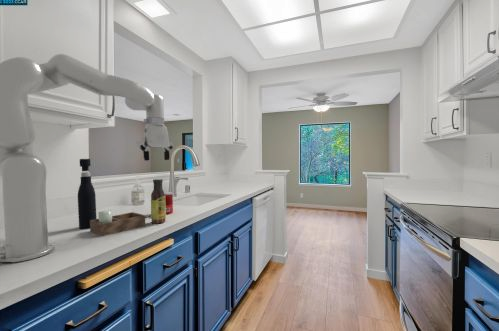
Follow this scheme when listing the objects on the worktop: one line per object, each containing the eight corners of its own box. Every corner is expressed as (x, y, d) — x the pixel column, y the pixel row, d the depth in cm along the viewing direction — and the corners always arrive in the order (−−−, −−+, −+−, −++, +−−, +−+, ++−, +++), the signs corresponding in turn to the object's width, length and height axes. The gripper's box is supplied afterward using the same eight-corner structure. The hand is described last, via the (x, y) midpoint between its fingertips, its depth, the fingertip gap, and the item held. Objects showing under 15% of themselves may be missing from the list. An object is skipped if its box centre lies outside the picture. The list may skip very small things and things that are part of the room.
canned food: (175, 211, 128) (174, 191, 128) (168, 215, 120) (167, 194, 120) (163, 211, 129) (162, 192, 129) (154, 215, 121) (153, 194, 121)
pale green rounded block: (101, 231, 91) (101, 213, 91) (97, 229, 94) (96, 212, 94) (114, 228, 95) (113, 211, 95) (109, 226, 98) (109, 210, 98)
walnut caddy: (101, 236, 88) (100, 224, 88) (90, 231, 95) (89, 220, 95) (145, 225, 102) (145, 215, 102) (133, 221, 109) (132, 212, 109)
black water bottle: (98, 226, 102) (95, 158, 101) (80, 230, 97) (77, 158, 96) (94, 224, 106) (91, 159, 106) (77, 227, 102) (74, 159, 101)
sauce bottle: (161, 224, 103) (159, 179, 102) (148, 223, 104) (146, 179, 104) (168, 220, 109) (167, 178, 109) (157, 220, 110) (155, 178, 110)
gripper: (140, 119, 97) (142, 160, 97) (176, 123, 110) (178, 159, 110) (132, 121, 101) (134, 160, 102) (168, 125, 115) (169, 159, 115)
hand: (157, 160), depth 106 cm, fingers open, 9 cm apart
